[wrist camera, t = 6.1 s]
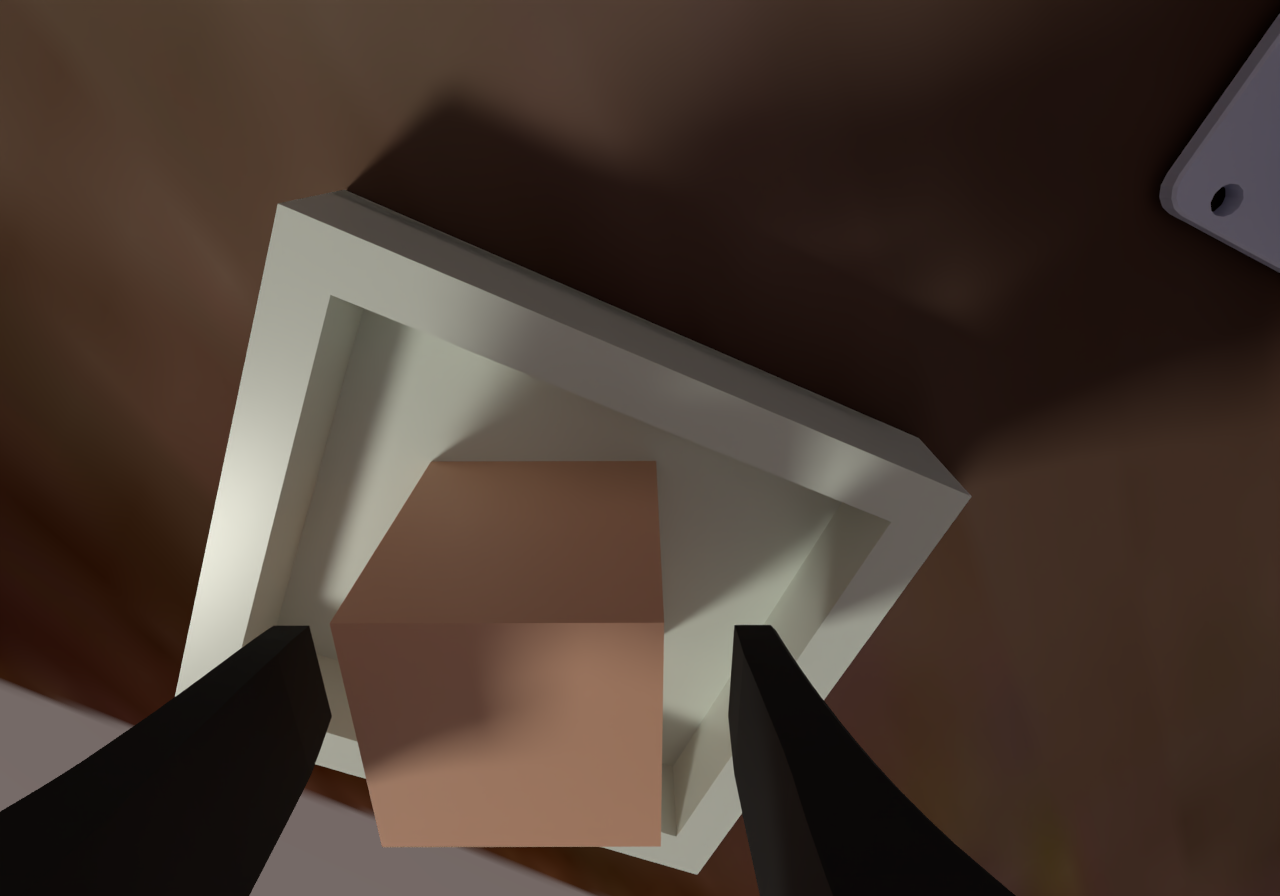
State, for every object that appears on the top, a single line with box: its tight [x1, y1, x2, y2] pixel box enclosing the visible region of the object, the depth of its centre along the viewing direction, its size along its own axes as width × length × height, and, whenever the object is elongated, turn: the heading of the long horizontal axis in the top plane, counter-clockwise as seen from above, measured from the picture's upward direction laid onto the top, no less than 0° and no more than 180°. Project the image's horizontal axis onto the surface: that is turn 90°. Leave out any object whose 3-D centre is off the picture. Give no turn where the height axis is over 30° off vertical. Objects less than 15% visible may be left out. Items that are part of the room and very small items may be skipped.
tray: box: [175, 190, 972, 874], centre depth 14 cm, size 12×11×2 cm
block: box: [330, 461, 664, 847], centre depth 13 cm, size 4×4×5 cm
